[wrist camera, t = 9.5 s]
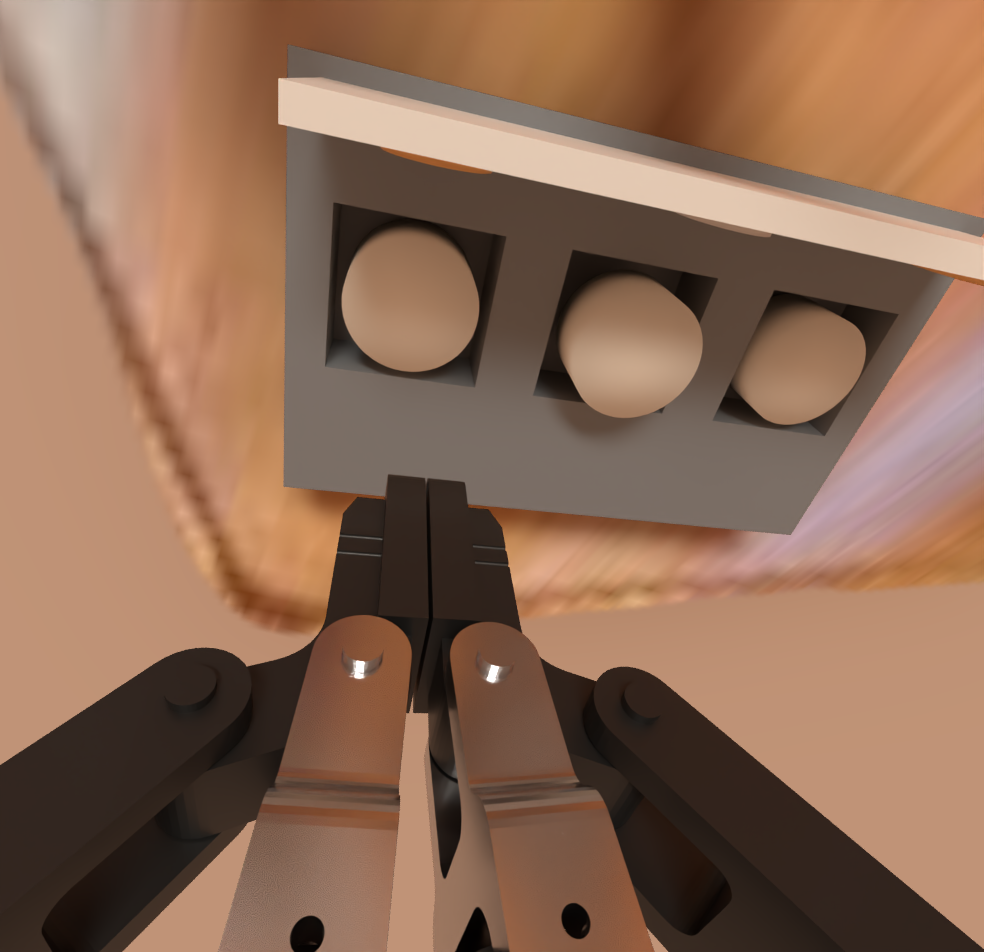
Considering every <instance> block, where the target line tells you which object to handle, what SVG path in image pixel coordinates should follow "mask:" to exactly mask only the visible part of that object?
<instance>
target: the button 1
mask: <svg viewBox="0 0 984 952" xmlns="http://www.w3.org/2000/svg"><path fill="white" fill-rule="evenodd" d="M342 312H343V317H344V321H345V324H346V326H347V329H348V331H349V333H350V335H351V337H352V338H353V340H354V341H355V343H356V344H357V345H358V346H359V348H360V349H361V350H362V351H363V352H364V353H365V354H367V355H368V356H369V357H370V358H372V359H373V360H375V361H377V362H378V363H380V364H382V365H384V366H386V367H389V368H392V369H395V370H400V371H408V372H420V371H426V370H431V369H434V368H437V367H440V366H442V365H444V364H446V363H448V362H449V361H451V360H452V359H454V358H455V357H456V356H458V355H459V354H460V353H461V352H462V351H463V350H464V348H465V347H466V346H467V344H468V343H469V341H470V340H471V338H472V336H473V334H474V331H475V329H476V326H477V322H478V317H479V298H478V292H477V288H476V285H475V282H474V278H473V275H472V272H471V269H470V265H469V262H468V260H467V258H466V255H465V254H464V252H463V250H462V248H461V247H460V246H459V244H458V243H457V242H456V241H455V240H454V239H453V238H452V237H451V236H450V235H449V234H448V233H447V232H445V231H444V230H442V229H441V228H439V227H437V226H435V225H433V224H431V223H428V222H425V221H421V220H415V219H401V220H394V221H391V222H388V223H385V224H383V225H381V226H379V227H377V228H376V229H374V230H373V231H371V232H370V233H369V234H368V235H367V236H366V237H365V238H364V239H363V240H362V241H361V243H360V244H359V246H358V247H357V249H356V251H355V253H354V255H353V257H352V260H351V264H350V267H349V270H348V273H347V276H346V279H345V283H344V286H343V291H342Z"/></svg>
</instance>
